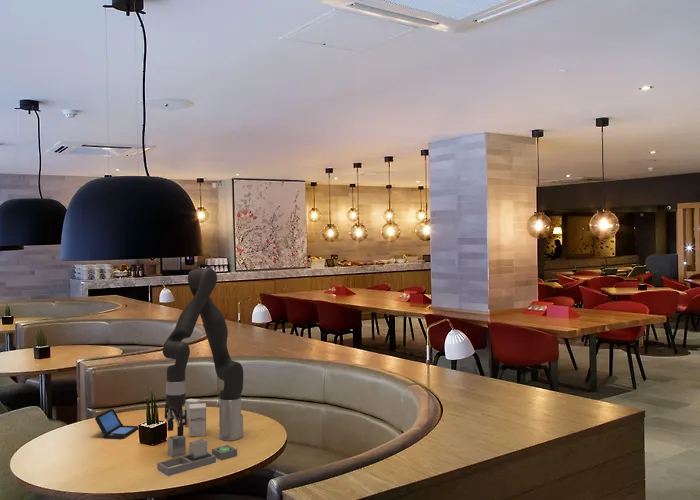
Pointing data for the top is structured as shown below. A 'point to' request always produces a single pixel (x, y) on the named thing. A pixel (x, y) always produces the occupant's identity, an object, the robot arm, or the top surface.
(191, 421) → the supplement box
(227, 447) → the button
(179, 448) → the billet
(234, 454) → the button housing
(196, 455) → the seated billet
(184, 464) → the pocket tray
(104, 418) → the handheld game console
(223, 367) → the robot arm
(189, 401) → the skincare box
